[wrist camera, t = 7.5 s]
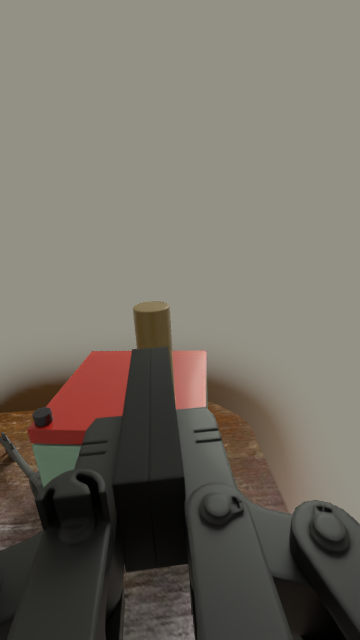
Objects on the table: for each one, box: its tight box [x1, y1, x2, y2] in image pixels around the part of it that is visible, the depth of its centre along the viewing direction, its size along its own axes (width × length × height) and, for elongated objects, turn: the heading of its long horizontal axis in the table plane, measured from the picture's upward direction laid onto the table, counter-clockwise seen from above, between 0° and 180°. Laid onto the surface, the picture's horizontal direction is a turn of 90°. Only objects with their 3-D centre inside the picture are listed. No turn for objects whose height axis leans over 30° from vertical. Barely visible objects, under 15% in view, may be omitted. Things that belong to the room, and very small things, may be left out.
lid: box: [28, 301, 207, 445], centre depth 24 cm, size 12×12×9 cm
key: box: [0, 432, 43, 499], centre depth 28 cm, size 12×1×3 cm, turn 47°
